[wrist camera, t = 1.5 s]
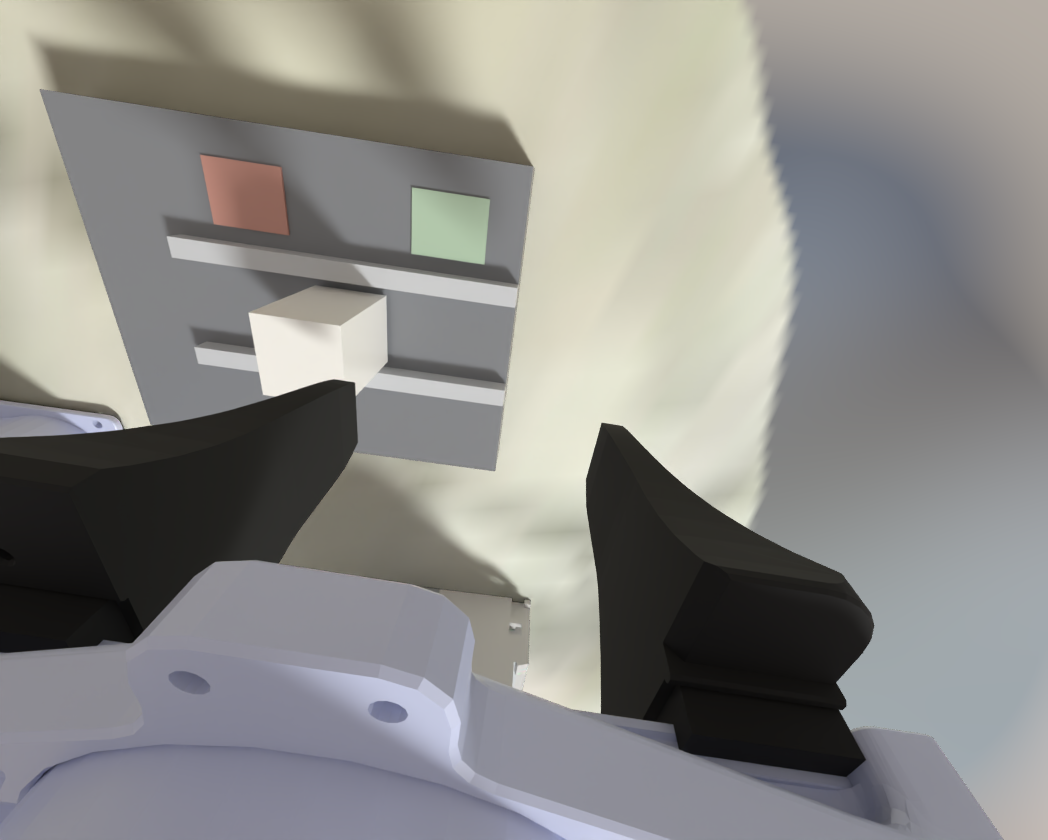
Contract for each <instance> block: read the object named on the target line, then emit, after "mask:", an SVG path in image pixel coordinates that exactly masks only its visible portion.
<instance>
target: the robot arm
mask: <svg viewBox="0 0 1048 840" xmlns="http://www.w3.org/2000/svg"><path fill="white" fill-rule="evenodd" d="M357 444H358V432H357V411H356V390H355V382H349V381H343V380H336V379H332V380H327V381H323V382H319V383H316V384H313V385H309V386H306V387H303V388H300V389H297V390H294V391H291V392H288V393H285V394H282V395H279V396H276V397H273V398H270V399H266V400H263V401H260V402H256V403H253V404H249V405H246V406H242V407H239V408H236V409H232V410H228V411H224V412H220V413H216V414H212V415H207V416H203V417H198V418H193V419H189V420H183V421H178V422H171V423H165V424H158V425H152V426H145V427H139V428H132V429H123V428H122V425H121V423H120V421H119V420H118V419H117V418H116V417H114V416H111V415H105V414H98V413H91V412H83V411H76V410H69V409H61V408H54V407H46V406H39V405H32V404H24V403H17V402H10V401H2V400H0V840H1004V839H1003V838H1002V837H1001V835H1000V834H999V832H998V831H997V829H996V828H995V826H994V825H993V823H992V822H991V821H990V819H989V818H988V817H987V815H986V813H985V812H984V810H983V809H982V808H981V806H980V805H979V803H978V802H977V800H976V799H975V797H974V796H973V795H972V793H971V792H970V790H969V789H968V787H967V786H966V784H965V783H964V782H963V780H962V779H961V778H960V776H959V774H958V773H957V771H956V770H955V769H954V767H953V766H952V764H951V763H950V761H949V760H948V759H947V757H946V756H945V754H944V753H943V751H942V750H941V748H940V747H939V745H938V744H937V743H936V741H935V740H934V738H933V737H930V736H928V735H926V734H920V733H913V732H906V731H900V730H893V729H886V728H880V727H860V728H856V729H853V730H851V731H850V729H849V728H848V726H847V724H846V722H845V720H844V719H843V717H842V715H841V713H840V711H839V710H843V709H844V708H845V707H846V699H845V698H844V696H843V694H842V692H841V691H840V689H839V687H838V685H837V684H836V682H837V681H838V680H839V679H840V678H841V676H842V675H843V674H844V673H845V672H846V671H847V670H848V669H849V668H850V666H851V665H852V664H853V663H854V662H855V661H856V660H857V659H858V658H859V656H860V655H861V654H862V653H863V651H864V650H865V648H866V647H867V645H868V644H869V642H870V640H871V638H872V634H873V629H874V623H873V619H872V615H871V613H870V611H869V610H868V608H867V607H866V606H865V604H864V603H863V602H862V600H861V599H860V598H859V596H858V595H857V594H856V592H855V591H854V590H853V588H852V587H851V585H850V584H849V583H848V582H847V580H846V579H845V577H844V576H843V575H842V574H841V573H839V572H837V571H835V570H832V569H830V568H828V567H826V566H823V565H821V564H819V563H816V562H814V561H812V560H810V559H807V558H805V557H802V556H800V555H798V554H796V553H793V552H791V551H789V550H787V549H785V548H783V547H781V546H779V545H777V544H775V543H774V542H772V541H770V540H768V539H766V538H764V537H762V536H760V535H758V534H756V533H755V532H753V531H751V530H749V529H748V528H746V527H744V526H743V525H741V524H739V523H738V522H736V521H734V520H733V519H731V518H730V517H728V516H726V515H725V514H723V513H722V512H720V511H719V510H717V509H716V508H714V507H713V506H711V505H710V504H708V503H707V502H706V501H704V500H703V499H702V498H700V497H699V496H698V495H696V494H695V493H694V492H692V491H691V490H690V489H688V488H687V487H686V486H685V485H684V484H682V483H681V482H680V481H679V480H678V479H677V478H675V477H674V476H673V475H672V474H671V473H670V472H669V471H668V470H667V469H665V468H664V467H663V466H662V465H661V464H660V463H659V462H658V461H657V460H656V459H655V458H654V457H653V456H652V455H651V454H650V453H649V452H648V451H647V450H646V449H645V448H644V447H643V446H642V445H641V444H640V443H639V442H638V441H637V440H636V438H635V437H634V436H633V435H632V434H631V433H630V432H629V431H628V430H626V429H625V428H624V427H623V426H619V425H613V424H607V423H602V424H601V427H600V431H599V435H598V438H597V442H596V445H595V449H594V453H593V456H592V460H591V463H590V467H589V471H588V474H587V478H586V508H587V515H588V521H589V528H590V534H591V541H592V547H593V553H594V559H595V566H596V572H597V581H598V594H599V616H600V650H601V714H599V713H593V712H586V711H579V710H572V709H569V708H567V707H564V706H561V705H559V704H556V703H553V702H551V701H548V700H545V699H543V698H540V697H537V696H535V695H532V694H529V693H527V692H524V691H521V690H518V689H516V688H513V687H510V686H508V685H505V684H502V683H500V682H497V681H494V680H492V679H489V678H486V677H484V676H481V675H478V674H476V673H473V672H472V657H473V651H474V644H475V639H474V635H473V631H472V627H471V623H470V620H469V617H468V616H467V615H466V614H465V613H463V612H462V611H461V610H460V609H459V608H458V607H457V606H455V605H454V604H453V603H452V602H451V601H450V600H449V599H447V598H446V597H445V596H444V595H442V594H439V593H437V592H434V591H431V590H428V589H425V588H422V587H419V586H416V585H413V584H408V583H401V582H395V581H388V580H382V579H375V578H369V577H362V576H356V575H349V574H343V573H336V572H330V571H323V570H317V569H310V568H304V567H297V566H291V565H284V564H279V562H280V560H281V559H282V557H283V555H284V553H285V552H286V550H287V548H288V547H289V545H290V543H291V541H292V540H293V538H294V537H295V535H296V534H297V532H298V531H299V529H300V528H301V527H302V525H303V524H304V523H305V521H306V520H307V519H308V517H309V516H310V515H311V513H312V512H313V511H314V509H315V508H316V507H317V505H318V504H319V503H320V501H321V500H322V499H323V497H324V496H325V495H326V493H327V492H328V491H329V489H330V488H331V487H332V485H333V484H334V482H335V481H336V480H337V478H338V477H339V476H340V474H341V473H342V471H343V470H344V468H345V467H346V465H347V463H348V461H349V459H350V458H351V456H352V454H353V452H354V450H355V448H356V446H357Z"/></svg>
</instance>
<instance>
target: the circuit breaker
mask: <svg viewBox="0 0 1048 840" xmlns="http://www.w3.org/2000/svg"><path fill="white" fill-rule="evenodd" d="M422 588H425V589H428V590H431V591H434V592H437V593H439V594H442V595H444V596H445V597H446V598H447V599H449V600H450V601H451V602H452V603H453V604H454V605H455V606H457V607H458V608H459V609H460V610H461V611H462V612H463V613H465V614H466V615H467V616H468V617H469V620H470V623H471V627H472V631H473V635H474V639H475V644H474V651H473V657H472V672H473V673H476V674H478V675H481V676H484V677H486V678H489V679H492V680H494V681H497V682H500V683H502V684H505V685H508V686H510V687H513V688H516V689H518V690H521V691H523V686H524V682H525V677H526V673H527V668H528V664H529V635H530V620H529V615H530V604H531V600H524V603H519V602H512V598H508V597H500V596H491V595H483V594H475V593H467V592H459V591H451V590H443V589H434V588H426V587H422Z"/></svg>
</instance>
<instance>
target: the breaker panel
mask: <svg viewBox="0 0 1048 840" xmlns="http://www.w3.org/2000/svg"><path fill="white" fill-rule="evenodd" d="M40 92H41V95H42V98H43V101H44V104H45V107H46V110H47V113H48V116H49V119H50V122H51V125H52V128H53V131H54V134H55V137H56V140H57V143H58V146H59V149H60V152H61V155H62V158H63V161H64V164H65V168H66V171H67V174H68V177H69V180H70V183H71V186H72V189H73V192H74V195H75V198H76V201H77V204H78V207H79V210H80V213H81V216H82V219H83V222H84V225H85V228H86V231H87V234H88V237H89V240H90V243H91V246H92V249H93V252H94V255H95V258H96V261H97V264H98V267H99V270H100V273H101V276H102V279H103V282H104V285H105V288H106V291H107V294H108V297H109V300H110V303H111V306H112V309H113V312H114V315H115V318H116V321H117V324H118V327H119V330H120V333H121V336H122V340H123V343H124V346H125V349H126V352H127V355H128V358H129V361H130V364H131V367H132V370H133V373H134V376H135V379H136V382H137V385H138V388H139V391H140V394H141V397H142V400H143V403H144V406H145V409H146V412H147V415H148V418H149V421H150V424H151V425H158V424H165V423H171V422H178V421H183V420H189V419H193V418H198V417H203V416H207V415H212V414H216V413H220V412H224V411H228V410H232V409H236V408H239V407H242V406H246V405H249V404H253V403H256V402H260V401H263V400H266V399H270V398H273V397H274V396H267V395H263V392H262V386H261V381H260V375H259V369H258V364H257V358H256V352H255V347H254V341H253V336H252V330H251V324H250V319H249V312H251V311H253V310H256V309H258V308H261V307H263V306H266V305H268V304H271V303H273V302H275V301H278V300H280V299H283V298H285V297H288V296H290V295H293V294H295V293H298V292H300V291H302V290H305V289H307V288H310V287H312V286H315V285H317V286H324V287H331V288H338V289H345V290H351V291H358V292H365V293H372V294H379V295H385V296H386V305H387V354H388V362H387V363H386V364H385V365H384V366H383V367H382V368H381V369H380V371H379V372H378V373H377V374H376V375H375V376H374V377H373V378H372V379H371V380H370V381H369V382H368V384H367V385H366V386H365V387H364V388H363V389H362V390H361V391H360V392H359V393H358V394H357V395H356V411H357V432H358V444H357V446H356V448H355V450H354V452H357V453H364V454H371V455H379V456H386V457H393V458H401V459H408V460H415V461H423V462H430V463H437V464H445V465H452V466H460V467H467V468H474V469H482V470H489V471H495V469H496V463H497V457H498V451H499V444H500V436H501V428H502V420H503V412H504V405H505V397H506V389H507V381H508V373H509V365H510V357H511V350H512V342H513V334H514V326H515V318H516V310H517V302H518V295H519V287H520V279H521V271H522V263H523V255H524V247H525V240H526V232H527V224H528V216H529V208H530V200H531V193H532V185H533V177H534V167H533V166H527V165H521V164H514V163H508V162H502V161H495V160H489V159H482V158H476V157H470V156H463V155H457V154H451V153H444V152H438V151H431V150H425V149H419V148H412V147H406V146H399V145H393V144H387V143H380V142H374V141H368V140H361V139H355V138H348V137H342V136H336V135H329V134H323V133H317V132H310V131H304V130H297V129H291V128H285V127H278V126H272V125H266V124H259V123H253V122H246V121H240V120H234V119H227V118H221V117H215V116H208V115H202V114H195V113H189V112H183V111H176V110H170V109H164V108H157V107H151V106H144V105H138V104H132V103H125V102H119V101H113V100H106V99H100V98H93V97H87V96H81V95H74V94H68V93H62V92H55V91H49V90H42V89H40Z"/></svg>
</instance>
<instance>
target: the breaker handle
mask: <svg viewBox="0 0 1048 840" xmlns="http://www.w3.org/2000/svg"><path fill="white" fill-rule="evenodd" d="M249 319H250V324H251V330H252V336H253V341H254V347H255V352H256V358H257V364H258V369H259V375H260V381H261V386H262V392H263V395H267V396H274V397H276V396H279V395H282V394H285V393H288V392H291V391H294V390H297V389H300V388H303V387H306V386H309V385H313V384H316V383H319V382H323V381H327V380H332V379H336V380H343V381H349V382H355V390H356V395H357V394H358V393H359V392H360V391H361V390H362V389H363V388H364V387H365V386H366V385H367V384H368V382H369V381H370V380H371V379H372V378H373V377H374V376H375V375H376V374H377V373H378V372H379V371H380V369H381V368H382V367H383V366H384V365H385V364H386V363H387V362H388V354H387V305H386V296H385V295H379V294H372V293H365V292H358V291H351V290H345V289H338V288H331V287H324V286H317V285H315V286H312V287H310V288H307V289H305V290H302V291H300V292H298V293H295V294H293V295H290V296H288V297H285V298H283V299H280V300H278V301H275V302H273V303H271V304H268V305H266V306H263V307H261V308H258V309H256V310H253V311H251V312H249Z"/></svg>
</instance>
